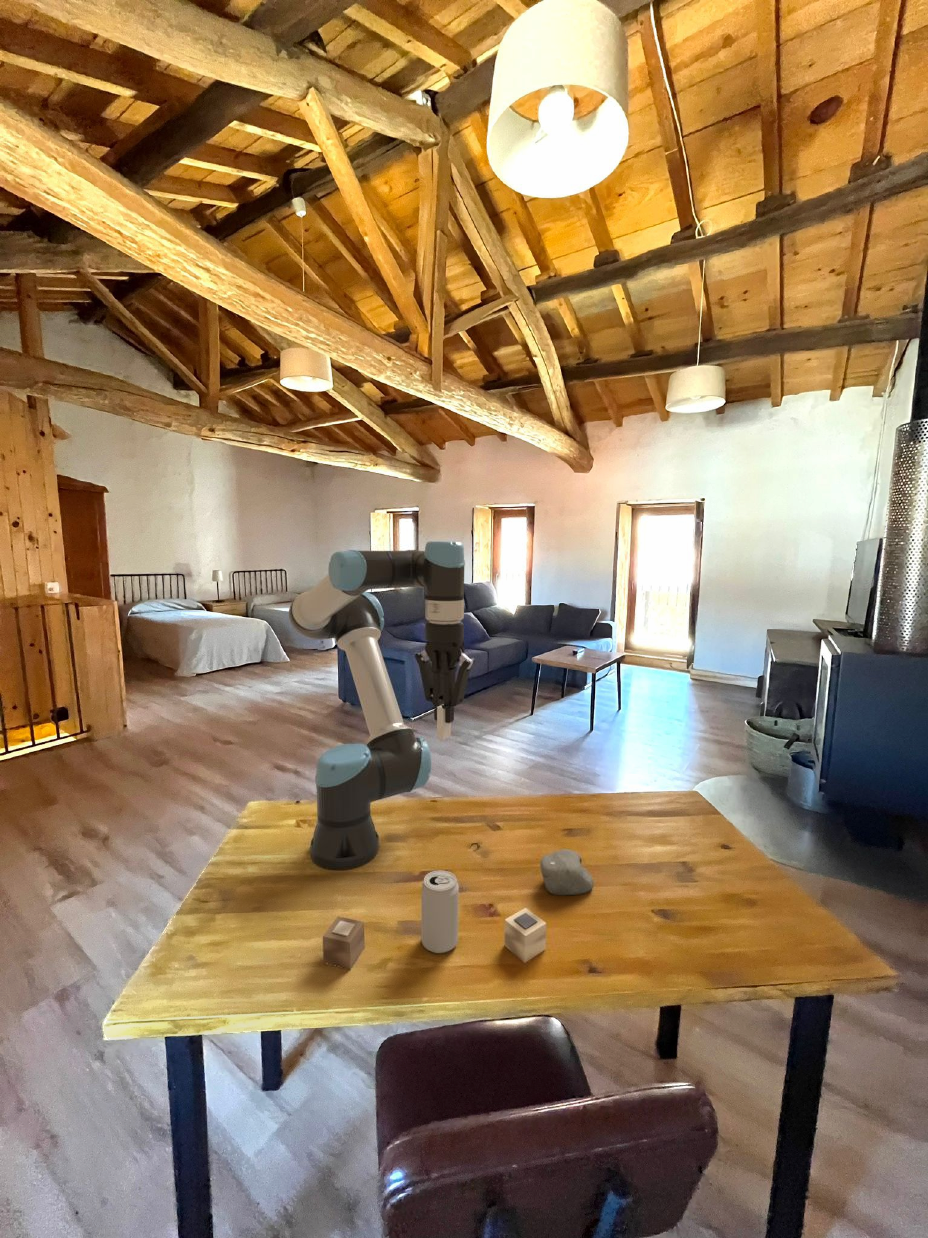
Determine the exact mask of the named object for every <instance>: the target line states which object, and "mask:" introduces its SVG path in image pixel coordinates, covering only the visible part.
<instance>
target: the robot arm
mask: <svg viewBox="0 0 928 1238" xmlns="http://www.w3.org/2000/svg"><path fill="white" fill-rule="evenodd" d="M424 548H425V549H424V550H418V549H406V550H355V549H349V550H341V551H340V550H339V551H335V552H334V553H333V554H332V555H331V557H330V559H329V562H328V567H327V568H328V570H327V571H328V574H327V575H326V576H325V577H324V578H322V579H321V580H320V581H319V582H318V583H316V585H315V586H314V587H312V588H311V589H310V590H308V591H305V592H301V593H300V594H299V595H297V596H296V597H295V598H294V600H292V602H291V603H290V606H289V608H288V609H289V610H288V619H289V622H290V623H291V625H292V627H293V628H294V629H295V631H296V632H298V633H299V634H301V635H302V636H304V637H306V638H309V639H315V640H328V639H329V640H330V639H335V642H336V645H337V647H338V648H339V649H340V650H342V651H344V652H345V655H346V658H347V661H348V664H349V668H350V672H351V676H352V678H353V679H352V680H353V682H354V684H355V688H356V691H357V692H356V693H357V695H358V699H359V702H360V705H361V709H362V712H363V716H364V719H365V723H366V725H367V729H368V732H369V738H368V740H367V741H366V744H363V743H357V742H355V743H343V744H339V745H337V746H334V747H331V748H330V749H327V750H326V751H325V752H324V753H322V754H321V755H320V756H319V757H318V760H317V762H316V769H315V771H316V773H315V775H314V776H315V777H314V779H315V786H316V812H317V822H316V825H315V827H314V831H313V835H312V836H313V837H312V838H311V841H310V846H309V852H310V855H309V856H310V859H311V860H312V862H313V863H314V864H315V865H316V866H318V867H320V868H323V869H325V870H326V869H328V870H333V871H335V870H336V871H340V870H342V871H343V870H350V869H355V868H357V867H360V866H362V865H365V864H367V863H368V862H370V861H371V860H372V859H374V858H375V857H376V856H377V854H378V852H379V851H380V849H379V848H380V839H379V838H380V837H379V835H378V832H377V831H376V828H375V823H374V821H373V818H372V815H371V812H372V811H371V803H373V802H376V801H377V802H378V801H379V800H380V801H381V800H384V799H387V798H391V797H394V796H397V795H400V794H405V793H411V792H413V791H415V790H417V789H421V788H423V787H424V786H425V785H426V784H427V783H428V781H429V779H430V776H431V771H432V763H433V762H432V754H431V753H432V752H431V749H430V747H429V745H428V742H427V741H426V740H425V739H424V738H423V737H419V736H417V737H416V736H415V733H414V730H413V728H412V727H410V726H408V725H406V724H405V722H404V720H403V716H402V713H401V710H400V707H399V705H398V701H397V698H396V695H395V691H394V688H393V684H392V681H391V678H390V676H389V673H388V669H387V667H386V663H385V661H384V657H383V653H382V652H381V648H380V645H379V639H380V637H382V636H381V635H382V633H381V632H382V631H383V629H384V626H385V619H384V616H385V615H384V610H383V607H382V605H381V603H380V601H379V600H378V599H379V598H377V597H376V595H374V594H372V593H369V592H368V590H378V589H379V590H381V589H401V588H403V589H404V588H423V589H424V594H425V595H424V597H425V600H424V603H425V604H424V606H425V608H424V610H425V611H424V612H425V614H424V616H425V617H424V619H426V620H427V621H426V622H425V625H424V631H425V632H424V639H425V641H426V643H425V646H424V650H422V651H421V652H418V653H415V654H414V659H415V660H416V662H417V664H418V666H419V667H418V668H419V672H420V677H421V683H422V688H423V692H424V693H423V694H424V698H425V701H427V702H431V703H432V704H433V718H434V721H436V728H437V729H436V739H438V740H442V741H443V740H446V739H447V738H450V737H451V733H452V730H451V729H452V728H451V727H452V726H451V725H452V723H453V722H454V721H455V720H454V719H455V707H457V706H459V705H461V704H462V703H463V702H464V699H465V694H466V690H467V685H468V682H469V681H468V680H469V677H470V673H471V669H472V668H473V666H474V665H475V663H476V660H475V658H474V657H471V658H469V657H468V655H467V654H466V653H465V648H464V647H463V646H464V645H463V642H464V637H465V635H464V632H465V630H464V626H465V625H464V623H463V621H462V620H464V618H465V599H464V595H465V566H466V565H465V564H466V561H465V550H464V549H465V548H464V544H463V543H462V542H460V541H443V540H442V541H440V540H438V541H436V540H435V541H433V540H431V541H427V542H426V544H425V547H424ZM458 666H459V668H458ZM457 669H458V670H457ZM457 671H458V672H457ZM456 673H457V675H456Z"/></svg>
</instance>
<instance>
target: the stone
mask: <svg viewBox="0 0 928 1238" xmlns="http://www.w3.org/2000/svg"><path fill="white" fill-rule="evenodd" d="M540 859H541V860H540V871H541V876H542V878H543V879H542V880H543V883H544V886H545V888H546V890H547V891H548V892H549V893H550V894H551V895H555V896H556V895H557V896H577V895H582V894H584V893H588V892H590V891H592V889H593V887H594V885H595V883H594V878H593V876H592V875H591V873H590V872H589V870H588V869H586V868H585V867H584V866H583V864H582V857H581V855H580V854H579V853H578V852H576V851H574V850H571V849H568V848H566V849H565V848H563V849H560V850H557V851H553V852H551V853H549V854H546V855H544V856H543V857H542V858H540Z"/></svg>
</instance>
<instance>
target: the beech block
mask: <svg viewBox="0 0 928 1238" xmlns="http://www.w3.org/2000/svg"><path fill="white" fill-rule="evenodd" d="M546 943H547V923H546V922H545V921H544V920H543V919H541V918H540V917H539V916H537V915H536V914H534V912H532V911H531V910H530V909H528V908H527V907H524V908H523V909H521V910H519V911H518V912H516V913H514V914H512V915H510V916H509V917H507V918H505V919H504V943H503V944H504V947H506V948H507V949H508V950H509V951H510V952H512V954H514V955H515V956H516V957H517V958H518V959H519V960H521V961H522V962H523V963H524V964H526V963H527V962H529V961H530V960H532V959H533V958H534V957H536V956H538V955H539V954H541V953H542V952H544V951H545V950H546V948H547V945H546Z"/></svg>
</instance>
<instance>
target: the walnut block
mask: <svg viewBox="0 0 928 1238" xmlns="http://www.w3.org/2000/svg"><path fill="white" fill-rule="evenodd" d="M365 944H366V943H365V922H364V921H361V920H356V919H354V918H353V919H352V918H348V917H344V916H337V917H336V918H335V919H334V921H333V922H332V923H331V924H330V926H329V927H328V929H327V930H326V931H325V932H324V933H323V935H322V956H323V964H325V963H328V964H327V965H329V964H331V965H330V966H333V965H336V966H335V967H337V966H340V967H339V968H341V967H342V968H341V969H345V968H346V969H345V970H349V971H351V970H352V969H353V967H354V965H356V962H357V961H358V959H359V957H360V956H361V955H362V953H363V951H364V949H365ZM351 968H352V969H351Z"/></svg>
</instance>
